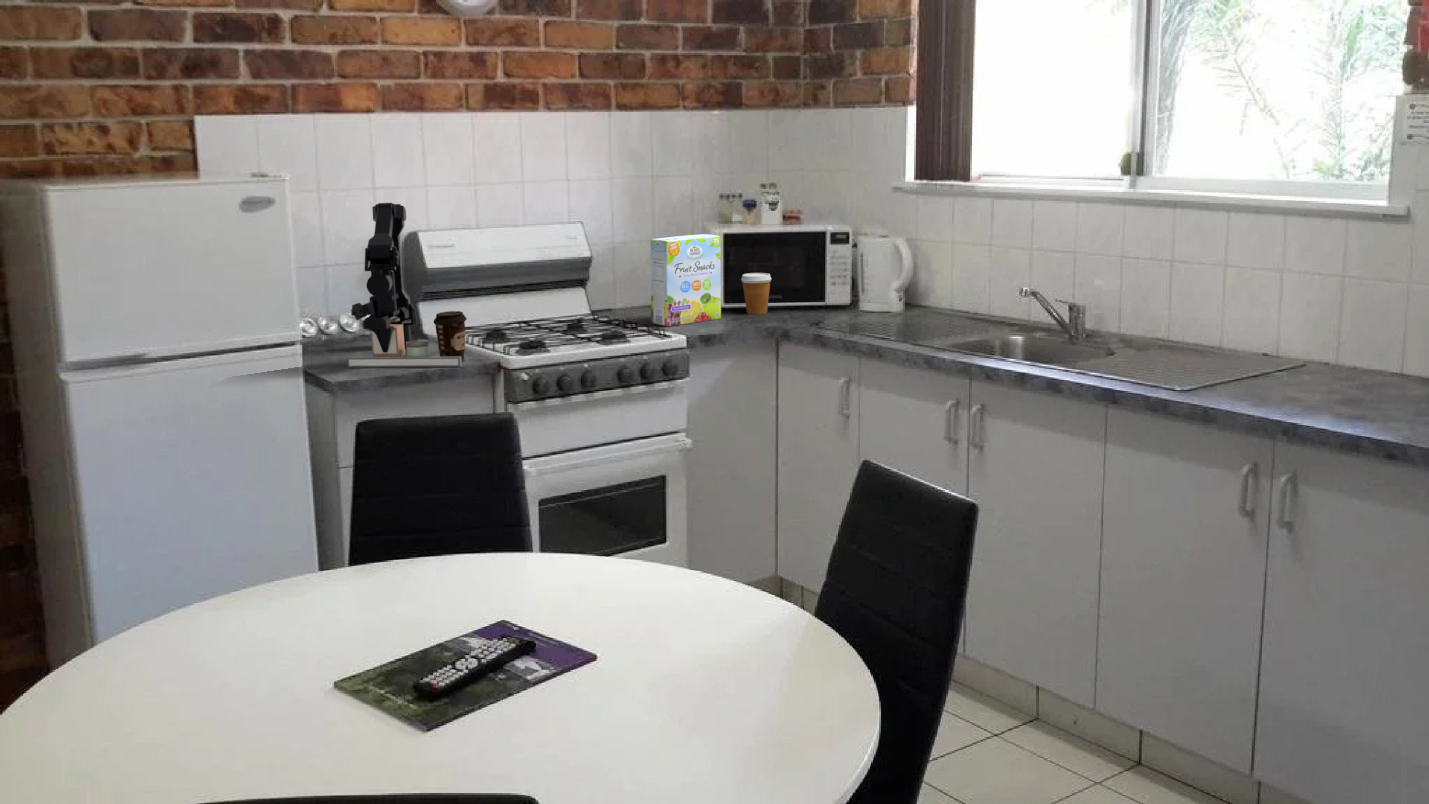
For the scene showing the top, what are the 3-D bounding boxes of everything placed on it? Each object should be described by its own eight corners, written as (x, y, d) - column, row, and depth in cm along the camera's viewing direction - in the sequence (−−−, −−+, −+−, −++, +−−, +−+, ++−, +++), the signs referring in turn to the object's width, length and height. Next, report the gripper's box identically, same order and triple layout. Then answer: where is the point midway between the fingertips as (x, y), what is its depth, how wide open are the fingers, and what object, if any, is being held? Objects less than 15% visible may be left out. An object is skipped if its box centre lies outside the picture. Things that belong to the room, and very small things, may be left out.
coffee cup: (473, 358, 358) (470, 310, 355) (465, 364, 350) (461, 315, 347) (441, 359, 359) (438, 310, 356) (432, 365, 351) (428, 315, 348)
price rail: (349, 366, 352) (348, 357, 351) (461, 365, 349) (461, 356, 348) (347, 367, 350) (346, 358, 350) (460, 367, 347) (459, 357, 347)
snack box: (668, 327, 400) (665, 240, 394) (650, 324, 406) (647, 238, 401) (723, 318, 414) (721, 234, 408) (704, 315, 420) (702, 232, 414)
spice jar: (411, 361, 356) (409, 339, 355) (432, 361, 356) (431, 339, 354) (404, 366, 351) (402, 343, 349) (426, 366, 350) (424, 343, 349)
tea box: (379, 354, 357) (377, 324, 355) (405, 354, 356) (402, 324, 354) (372, 358, 352) (370, 327, 350) (398, 358, 351) (396, 327, 349)
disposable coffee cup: (735, 313, 423) (734, 275, 420) (754, 309, 430) (754, 272, 427) (759, 316, 417) (758, 277, 414) (778, 312, 424) (777, 273, 421)
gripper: (366, 286, 360) (371, 344, 364) (340, 296, 342) (345, 357, 346) (407, 286, 359) (411, 344, 362) (383, 296, 341) (388, 357, 344)
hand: (388, 350), depth 354 cm, fingers closed on tea box, 5 cm apart
